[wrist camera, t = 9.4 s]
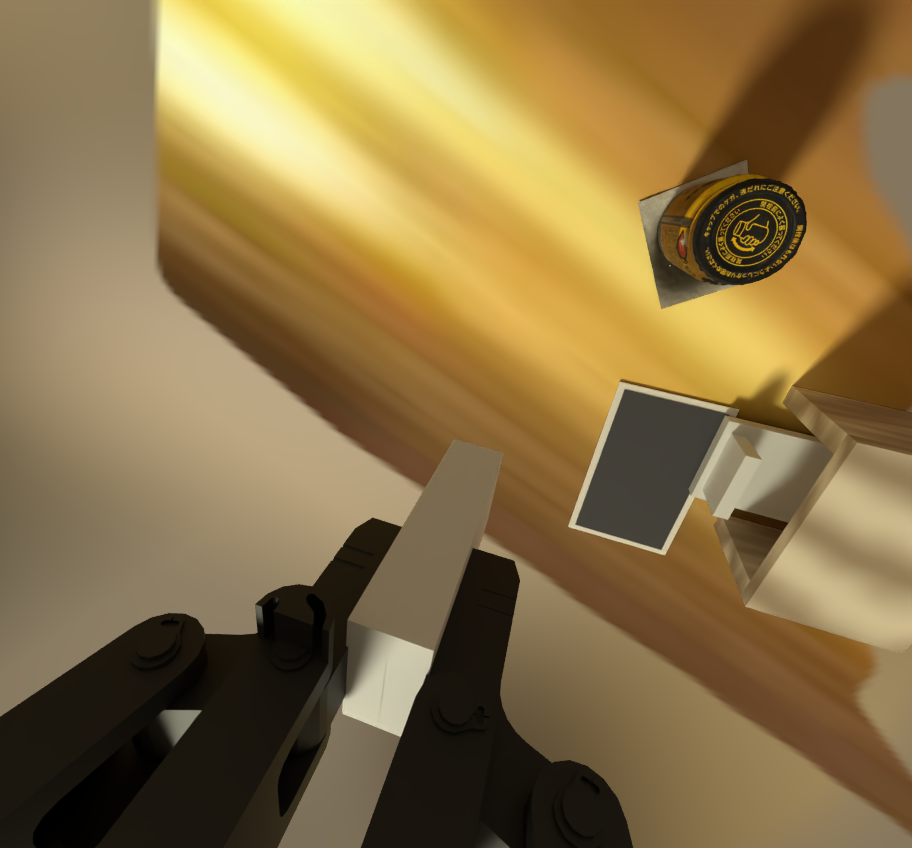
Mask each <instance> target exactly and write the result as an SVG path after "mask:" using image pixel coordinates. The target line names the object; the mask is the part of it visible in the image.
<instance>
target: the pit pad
mask: <svg viewBox="0 0 912 848" xmlns="http://www.w3.org/2000/svg"><path fill="white" fill-rule="evenodd" d="M738 412H739V409H735V408H731V407H727V406H723V405H718V404H714V403H710V402H706V401H702V400H697V399H693V398H689V397H685V396H680V395H676V394H672V393H668V392H664V391H659V390H655V389H651V388H647V387H642V386H638V385H634V384H630V383H625V382H621V381H620V382H619V385H618V388H617V390H616V393H615V396H614V399H613V402H612V404H611V407H610V410H609V413H608V416H607V418H606V421H605V424H604V427H603V430H602V432H601V435H600V438H599V441H598V444H597V446H596V449H595V452H594V455H593V458H592V460H591V463H590V466H589V469H588V472H587V474H586V477H585V480H584V483H583V486H582V488H581V491H580V494H579V497H578V500H577V502H576V505H575V508H574V511H573V514H572V516H571V519H570V522H569V525H568V527H571V528H574V529H578V530H581V531H584V532H588V533H591V534H595V535H598V536H601V537H605V538H608V539H611V540H615V541H618V542H622V543H625V544H628V545H632V546H635V547H638V548H642V549H645V550H649V551H652V552H655V553H659V554H662V555H665V554H666V552H667V550H668V548H669V546H670V544H671V542H672V541H673V539H674V537H675V535H676V533H677V531H678V529H679V527H680V525H681V523H682V521H683V519H684V517H685V515H686V513H687V511H688V509H689V507H690V505H691V504H692V502H693V500H694V498H695V497H692V496H691V495H690V492H689V487H690V485H691V483H692V481H693V479H694V477H695V475H696V473H697V471H698V469H699V467H700V465H701V463H702V461H703V459H704V457H705V455H706V453H707V451H708V449H709V447H710V445H711V443H712V441H713V439H714V437H715V435H716V433H717V431H718V429H719V427H720V425H721V423H722V421H723V419H724V417H725V415H726V416H731V417H735V418H736V416H737V414H738Z"/></svg>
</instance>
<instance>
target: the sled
mask: <svg viewBox="0 0 912 848" xmlns="http://www.w3.org/2000/svg"><path fill="white" fill-rule="evenodd" d="M833 455H834V454H833V453H832V452H831V451H830V450H829V449H828V448H827V447H826V446H825V445H824V444H823V443H822V442H821V441H820V440H819V439H818V438H817V437H814V436H810V435H806V434H801V433H797V432H793V431H789V430H785V429H781V428H776V427H772V426H768V425H764V424H760V423H756V422H751V421H747V420H743V419H739V418H735V417H731V416H726V415H725V417H724V419H723V421H722V423H721V425H720V427H719V429H718V431H717V433H716V435H715V437H714V439H713V441H712V443H711V445H710V447H709V449H708V451H707V453H706V455H705V457H704V459H703V461H702V463H701V465H700V467H699V469H698V471H697V473H696V475H695V477H694V479H693V481H692V483H691V485H690V487H689V492H690V495H691V496H692V497H696V498H700V499H703V500H707V503H708V505H709V507H710V510H711V512H712V515H713V516H716V517H720V518H723V519H727V520H728V519H729V517H730V515H731V514H732V512H733V510H734V508H736V509H740V510H744V511H747V512H751V513H755V514H758V515H762V516H766V517H770V518H773V519H777V520H781V521H784V522H788V523H789V522H790V520H791V519H792V517H793V516H794V514H795V513H796V511H797V510H798V508H799V506H800V505H801V503H802V502H803V500H804V499H805V497H806V496H807V494H808V493H809V491H810V490H811V488H812V487H813V485H814V484H815V482H816V481H817V479H818V478H819V476H820V475H821V473H822V472H823V470H824V469H825V467H826V466H827V464H828V463H829V461H830V460H831V458H832V457H833Z"/></svg>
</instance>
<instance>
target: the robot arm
mask: <svg viewBox="0 0 912 848" xmlns="http://www.w3.org/2000/svg"><path fill="white" fill-rule="evenodd" d="M503 454H504V452H500V451H496V450H493V449H489V448H485V447H482V446H478V445H474V444H471V443H467V442H464V441H460V440H456V439H454V440H453V442H452V444H451V445H450V447H449V449H448V450H447V452H446V454H445V455H444V457H443V459H442V460H441V462H440V464H439V466H438V467H437V469H436V471H435V472H434V474H433V476H432V477H431V479H430V481H429V483H428V484H427V486H426V488H425V489H424V491H423V493H422V494H421V496H420V498H419V499H418V501H417V503H416V505H415V506H414V508H413V510H412V511H411V513H410V515H409V516H408V518H407V520H406V522H405V523H404V525H403V527H401V526H397V525H394V524H391V523H388V522H385V521H381V520H378V519H375V518H371V519H370V520H368V521H367V522H365V523H363V524H362V525H360V526H358V527H357V528H355V529H354V531H353V532H352V533H351V535H350V536H349V538H348V539H347V540H346V542H345V543H344V545H343V547H341V548H340V550H339V551H338V552H337V554H336V555H335V557H334V559H333V561H331V562H330V563H329V565H328V566H327V568H326V569H325V570H324V571H323V573H322V574H321V576H320V577H319V578H318V580H317V581H316V583H315V584H314V585H313V586H306V585H300V584H298V585H291V586H284V587H281V588H279V589H277V590H274V591H272V592H271V593H268V594H267V595H265V596H264V597H263V598H262V599H261V600H260V601H258V602H257V603H256V604H255V608H256V619H257V628H258V629H257V630H258V633H256V634H247V635H228V634H226V635H225V634H205V633H204V628H203V627H202V625H201V624H200V623H199V621H198V620H197V619H196V618H193V617H191V616H189V615H187V614H178V613H168V614H164V615H160V616H156V617H152V618H150V619H148V620H146V621H144V622H142V623H140V624H138V625H136V626H134V627H133V628H131V629H130V630H128V631H127V632H125V633H124V634H122V635H121V636H119V637H118V638H116V639H115V640H113V641H112V642H110V643H109V644H107V645H106V646H104V647H103V648H101V649H100V650H98V651H97V652H96V653H94V654H93V655H91V656H90V657H88V658H87V659H85V660H84V661H82V662H81V663H79V664H78V665H76V666H75V667H74V668H72V669H70V670H69V671H67V672H66V673H64V674H63V675H61V676H60V677H58V678H57V679H55V680H54V681H53V682H51V683H50V684H48V685H47V686H45V687H44V688H42V689H41V690H39V691H38V692H36V693H35V694H33V695H32V696H30V697H29V698H27V699H26V700H24V701H23V702H21V703H20V704H18V705H17V706H16V707H14V708H13V709H11V710H10V711H8V712H7V713H5V714H4V715H2V716H1V717H0V848H277V847H278V845H279V843H280V841H281V839H282V837H283V835H284V833H285V831H286V829H287V827H288V825H289V823H290V821H291V819H292V816H293V814H294V812H295V810H296V808H297V806H298V804H299V802H300V800H301V798H302V796H303V794H304V792H305V790H306V788H307V786H308V784H309V782H310V779H311V778H312V775H313V773H314V771H315V769H316V767H317V765H318V763H319V761H320V759H321V757H322V755H323V753H324V751H325V749H326V746H327V743H328V739H329V736H330V730H331V723H332V721H333V719H334V717H335V715H336V713H337V711H338V709H339V707H340V705H341V703H342V701H343V709H342V713H343V714H345V715H347V716H350V717H352V718H355V719H358V720H360V721H362V722H365V723H367V724H370V725H372V726H375V727H377V728H380V729H383V730H385V731H387V732H390V733H393V734H395V735H398V736H400V737H401V738H400V741H399V744H398V746H397V749H396V752H395V755H394V757H393V760H392V763H391V766H390V769H389V771H388V774H387V777H386V780H385V782H384V785H383V788H382V791H381V793H380V796H379V799H378V802H377V805H376V807H375V810H374V813H373V816H372V819H371V821H370V824H369V827H368V829H367V832H366V835H365V838H364V841H363V843H362V846H361V848H633V845H632V841H631V837H630V833H629V829H628V825H627V821H626V818H625V816H624V813H623V811H622V808H621V806H620V803H619V800H618V798H617V797H616V795H615V794H614V793H613V791H612V790H611V788H610V787H609V786H608V784H607V783H606V782H605V780H604V779H603V778H602V777H600V776H599V775H598V774H597V773H595V772H594V771H593V770H592V769H590V768H589V767H588V766H586V765H582V764H580V763H577V762H574V761H571V760H567V761H559V762H553V763H551V762H550V761H549V760H548V759H546V758H545V757H544V756H543V755H541V754H540V753H539V752H538V751H536V750H535V749H534V748H533V747H531V746H530V745H529V744H528V743H526V742H525V741H524V740H523V739H522V738H521V737H520V736H519V735H518V734H517V733H516V732H515V730H514V729H513V727H512V726H511V724H510V723H509V721H508V720H507V717H506V715H505V712H504V710H503V707H502V702H501V697H500V687H501V686H500V685H501V679H502V673H503V668H504V663H505V657H506V652H507V647H508V641H509V636H510V631H511V625H512V619H513V615H514V609H515V604H516V599H517V593H518V588H519V583H520V579H519V575H518V572H517V569H516V565H515V562H514V561H513V560H510V559H507V558H503V557H500V556H497V555H494V554H491V553H487V552H484V551H481V550H478V549H479V545H480V543H481V540H482V537H483V533H484V530H485V527H486V524H487V520H488V516H489V512H490V508H491V503H492V499H493V495H494V491H495V487H496V483H497V479H498V475H499V470H500V466H501V462H502V458H503Z"/></svg>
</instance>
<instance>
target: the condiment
mask: <svg viewBox="0 0 912 848" xmlns="http://www.w3.org/2000/svg"><path fill="white" fill-rule="evenodd" d="M638 204H639V209H640V213H641V218H642V223H643V228H644V231H645V237H646V241H647V246H648V250H649V255H650V260H651V264H652V268H653V273H654V278H655V282H656V287H657V291H658V295H659V300H660V305H661V309H663V308H666V307H669V306H672V305H675V304H678V303H681V302H684V301H688V300H691V299H694V298H697V297H700V296H704V295H707V294H710V293H714V292H717V291H719V290H723V289H727V288H730V287H734V286H737V285H744V284H749V283H753V282H756V281H759V280H762V279H764V278H767V277H769V276H771V275H772V274H774V273H775V272H777V271H779V270H780V269H781V268H782V267H783V266H784V265H785V264H786V263H787V262H788V261H789V260H790V259H791V258H793V257H794V256H795V254H796V253H797V250H798V248H799V246H800V244H801V241H802V239H803V237H804V234H805V232H806V225H807V221H806V211H805V206H804V203H803V200H802V199H801V198H800V197H799V196H798V195H797V192H796V191H794V190H793V188H792V187H790V186H789V185H787V184H784V183H781V182H780V181H776V180H771V179H769V178H767V177H764V176H761V175H756V174H749V173H748V164H747V160H744V161H742V162H739V163H737V164H734V165H732V166H729V167H726V168H724V169H721V170H719V171H716V172H714V173H711V174H709V175H706V176H704V177H701V178H699V179H696V180H694V181H691V182H689V183H686V184H684V185H681V186H679V187H676V188H673V189H671V190H668V191H666V192H663V193H661V194H658V195H656V196H653V197H651V198H648V199H646V200H643V201H641V202H638ZM669 265H671V266H669Z"/></svg>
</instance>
